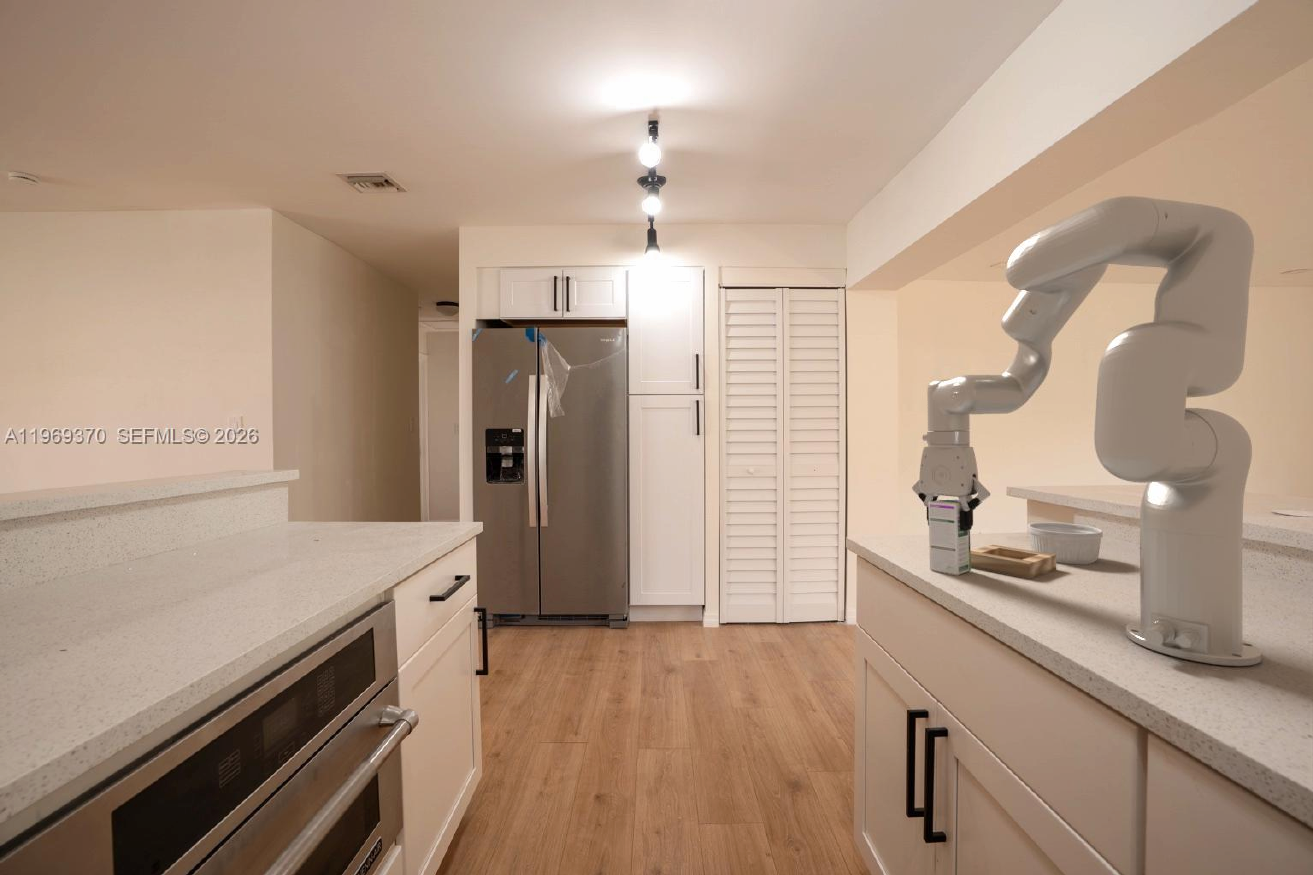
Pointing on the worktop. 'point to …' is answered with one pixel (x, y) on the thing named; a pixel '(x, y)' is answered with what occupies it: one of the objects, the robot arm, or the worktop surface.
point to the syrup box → (948, 538)
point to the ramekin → (1066, 541)
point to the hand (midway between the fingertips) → (949, 526)
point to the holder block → (1013, 561)
